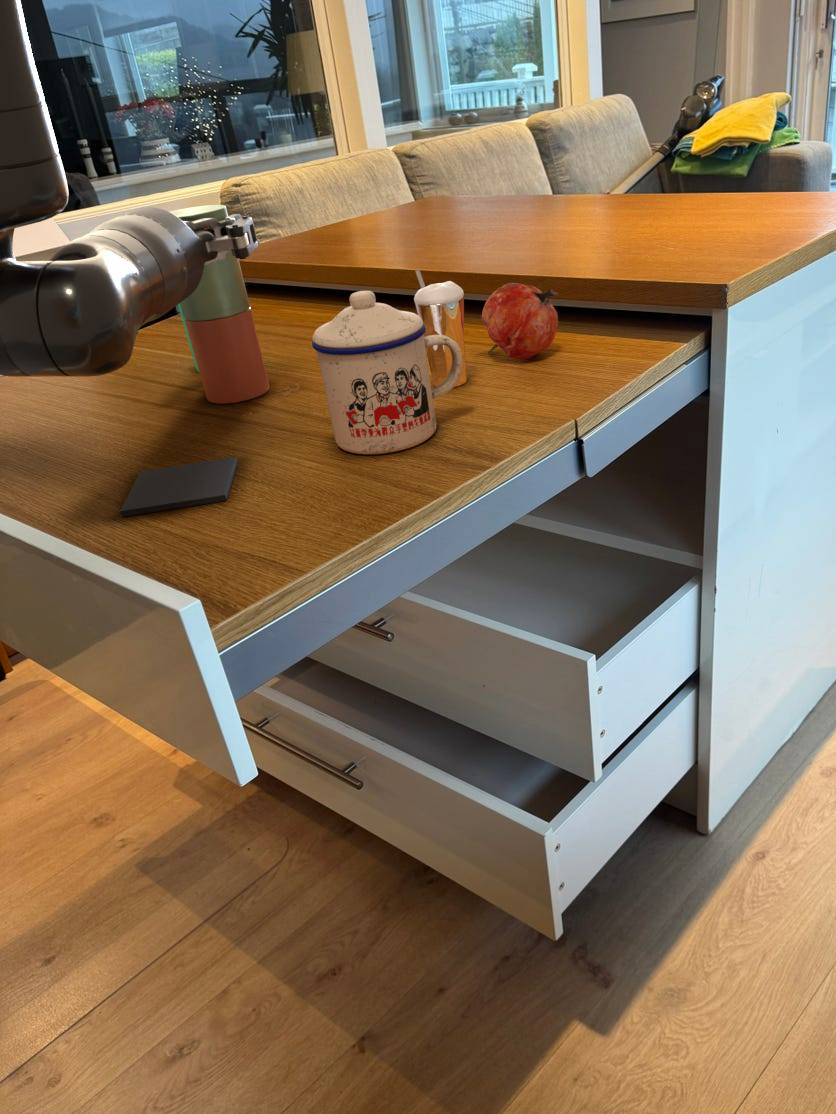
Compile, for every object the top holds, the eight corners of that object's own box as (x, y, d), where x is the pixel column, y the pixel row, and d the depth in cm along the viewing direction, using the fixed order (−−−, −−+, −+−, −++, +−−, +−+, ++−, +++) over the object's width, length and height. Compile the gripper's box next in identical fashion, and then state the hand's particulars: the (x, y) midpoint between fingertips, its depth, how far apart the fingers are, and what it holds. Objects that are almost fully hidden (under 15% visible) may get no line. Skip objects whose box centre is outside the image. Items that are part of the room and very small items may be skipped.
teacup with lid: (348, 466, 71) (316, 315, 65) (322, 432, 78) (292, 294, 72) (487, 431, 74) (471, 284, 68) (451, 402, 81) (433, 266, 75)
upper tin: (179, 324, 84) (149, 221, 79) (189, 309, 90) (161, 211, 85) (246, 315, 84) (221, 210, 80) (252, 300, 90) (229, 202, 85)
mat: (121, 517, 68) (119, 511, 67) (141, 476, 74) (140, 471, 74) (226, 500, 68) (225, 494, 68) (237, 462, 75) (236, 456, 74)
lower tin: (203, 407, 89) (179, 325, 84) (211, 388, 94) (189, 309, 90) (267, 397, 89) (246, 315, 84) (272, 379, 94) (252, 300, 90)
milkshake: (451, 371, 89) (437, 264, 84) (483, 380, 86) (470, 270, 80) (413, 383, 87) (396, 275, 82) (444, 394, 84) (428, 281, 78)
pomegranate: (482, 389, 91) (544, 332, 83) (447, 325, 90) (505, 263, 83) (528, 374, 95) (590, 320, 88) (494, 314, 95) (553, 255, 88)
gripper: (213, 204, 68) (267, 177, 82) (37, 226, 70) (119, 195, 84) (239, 305, 73) (286, 263, 86) (71, 324, 74) (144, 279, 88)
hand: (204, 230), depth 85 cm, fingers closed on upper tin, 6 cm apart
